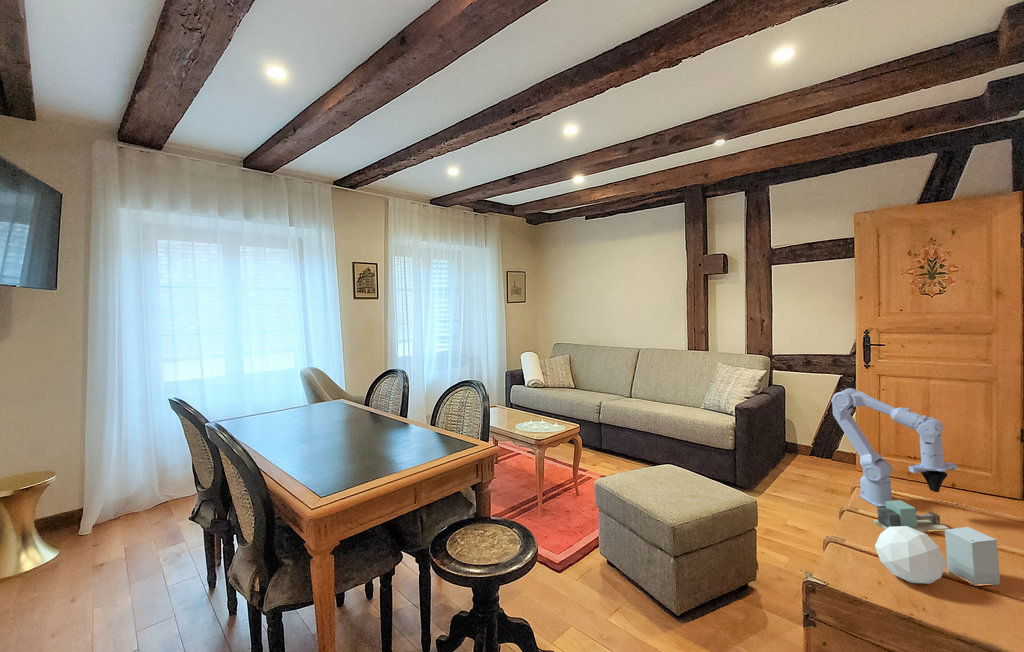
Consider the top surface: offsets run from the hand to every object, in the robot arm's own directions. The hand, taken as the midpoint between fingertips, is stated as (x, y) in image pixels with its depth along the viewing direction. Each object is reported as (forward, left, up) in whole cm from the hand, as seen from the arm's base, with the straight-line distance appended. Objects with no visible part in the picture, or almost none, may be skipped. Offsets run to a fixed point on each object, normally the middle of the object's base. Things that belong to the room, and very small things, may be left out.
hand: (934, 490), depth 148 cm
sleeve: (+5, -16, -8) cm, 18 cm away
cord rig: (+5, -13, -9) cm, 17 cm away
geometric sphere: (+30, -34, -10) cm, 47 cm away
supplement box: (+32, -19, -10) cm, 38 cm away
